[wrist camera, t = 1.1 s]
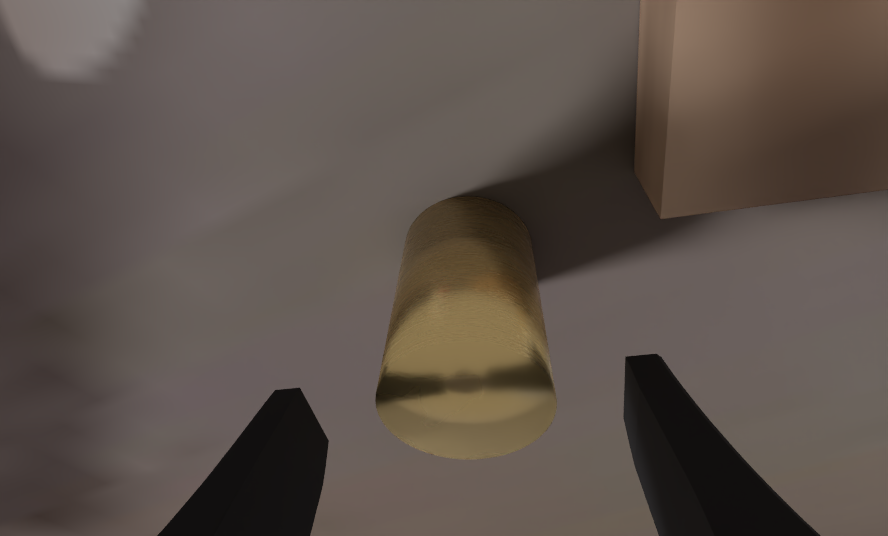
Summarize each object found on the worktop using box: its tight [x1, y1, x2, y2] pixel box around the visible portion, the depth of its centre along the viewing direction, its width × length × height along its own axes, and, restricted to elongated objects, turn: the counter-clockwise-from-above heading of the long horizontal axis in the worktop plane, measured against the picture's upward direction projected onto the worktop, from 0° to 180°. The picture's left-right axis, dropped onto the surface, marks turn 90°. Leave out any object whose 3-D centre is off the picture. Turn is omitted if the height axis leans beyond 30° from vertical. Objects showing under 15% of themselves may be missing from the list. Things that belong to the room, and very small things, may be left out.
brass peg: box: [376, 196, 557, 459], centre depth 14 cm, size 4×4×6 cm
